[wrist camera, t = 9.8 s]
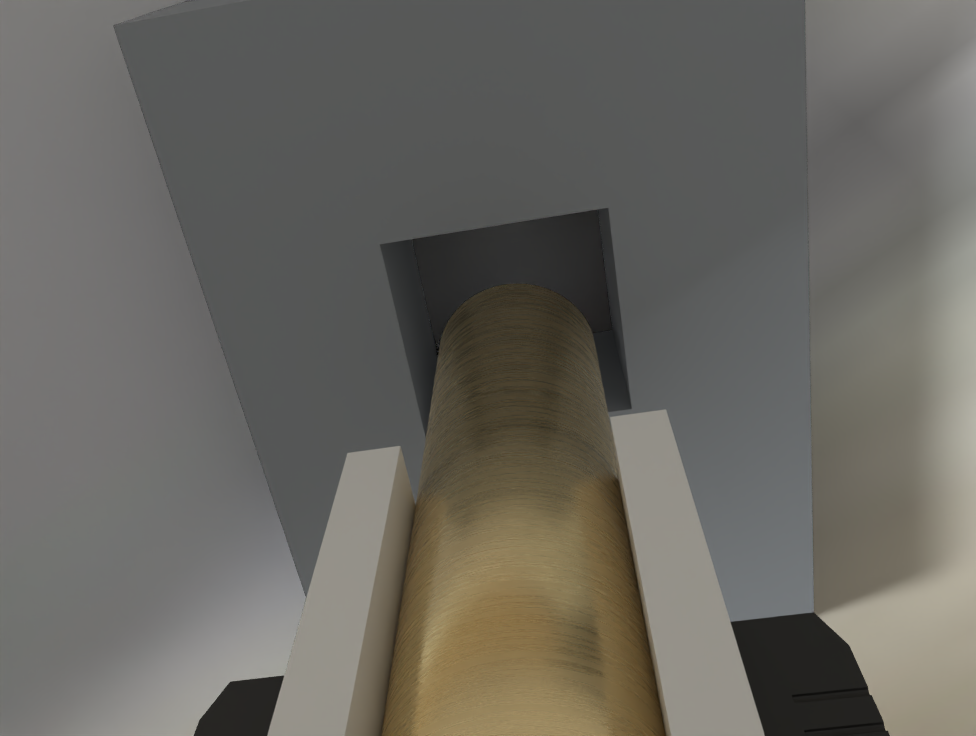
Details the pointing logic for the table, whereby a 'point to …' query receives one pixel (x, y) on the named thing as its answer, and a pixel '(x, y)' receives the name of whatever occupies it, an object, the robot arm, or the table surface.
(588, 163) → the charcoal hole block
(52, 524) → the table surface
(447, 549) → the brass peg
